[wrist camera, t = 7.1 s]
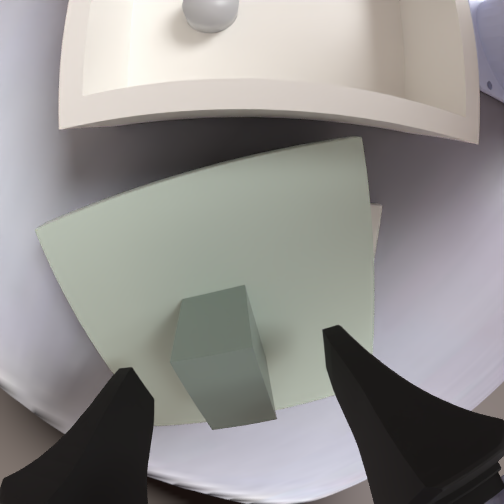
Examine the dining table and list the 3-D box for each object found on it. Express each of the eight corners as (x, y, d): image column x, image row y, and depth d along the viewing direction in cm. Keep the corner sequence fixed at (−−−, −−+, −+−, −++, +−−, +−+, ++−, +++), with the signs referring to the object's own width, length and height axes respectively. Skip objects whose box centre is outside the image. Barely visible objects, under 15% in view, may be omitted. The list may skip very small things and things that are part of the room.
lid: (342, 135, 11) (420, 146, 6) (359, 362, 16) (392, 429, 11) (55, 216, 11) (-17, 268, 6) (158, 404, 16) (148, 473, 11)
